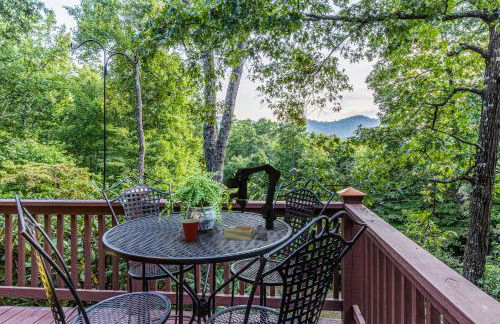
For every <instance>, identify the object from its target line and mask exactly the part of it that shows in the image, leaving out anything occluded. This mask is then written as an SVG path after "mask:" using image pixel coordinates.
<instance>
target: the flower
mask: <svg viewBox="0 0 500 324" xmlns="http://www.w3.org/2000/svg"><path fill="white" fill-rule="evenodd" d="M264 228H265V227H264V226H263V223H261V224H258V225H257V226H256V228H255V232H254V234H253V238H252V240H254V239H255V237H256V235H257V236H258V238H259V239H260V240H262V239H265V238H266V237H267V238H268V236H269V235H268V231H267V230H265V229H264ZM267 238H266V239H267Z"/></svg>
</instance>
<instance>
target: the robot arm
mask: <svg viewBox="0 0 500 324" xmlns="http://www.w3.org/2000/svg"><path fill="white" fill-rule="evenodd" d="M260 172H264V173H265V174H267V180H268V187H267V192H266V197H265V203H264V205H261V207H260V208H261V209H260V211H259V212H260V215H261V217H262V219H263V220H264V221H265V222H264V223H265V224H264V228H267V229H273V228H274V227H275V226H274V225H275V221H277V219H278V216H277V215H276V214H275V212H274V211H275V209H274V206H273V204H274V200H275V199H274V198H275V194H276V189H277V183H279V181H280V180H281V176H282V173H281V171H280V170H279V169H277V168H275V167H273V166H272V165H271V164H270V163H263V164H259V165H255V166H251V167H239V168H237V170H236V173H235V174H234V176H233V177H228V179H227V181H226V188H227V189H228V190H234V189H235V190H237V191H235V192H231V193H229V194H228V198H229V199H230V200H231V201H232V200H234V199H235V204H236V205H239V207H240V212H241V214H244V213H245V211H246V208H247V206H248V203H249V200H250V195H249V194H248V192H249V189H248V182H249V181H250V182H251V178H250V176H251V175H252V174H257V173H260ZM274 229H275V228H274Z"/></svg>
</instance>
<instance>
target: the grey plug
mask: <svg viewBox="0 0 500 324" xmlns="http://www.w3.org/2000/svg"><path fill="white" fill-rule="evenodd" d="M229 226H230V227H229V230H236V226H235V225H233V226H232V225H229Z"/></svg>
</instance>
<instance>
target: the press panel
mask: <svg viewBox="0 0 500 324" xmlns="http://www.w3.org/2000/svg"><path fill="white" fill-rule="evenodd" d="M230 226H231V225H228V226H226V228H225V229H224V231H223V240H224V239H233V240H232V241H248V240H251V241H252V240H253V238H252V237H253V234H254V233H255V232H254V230H255V229H254V226H250V230H242V226H243V225H242V226H241V225H240V226H239V225H238V226H236V230H229V227H230Z"/></svg>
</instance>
